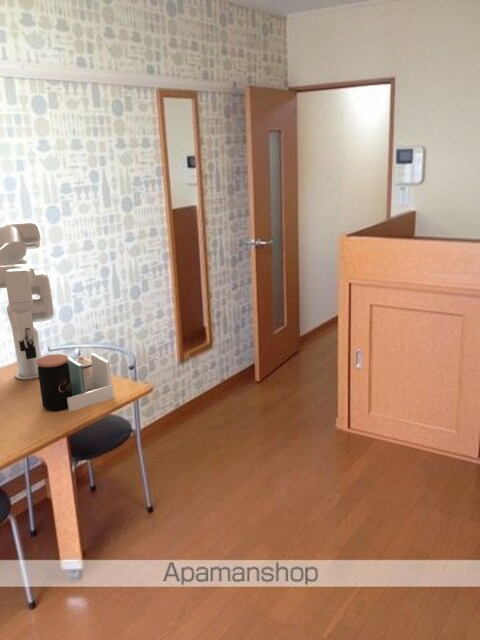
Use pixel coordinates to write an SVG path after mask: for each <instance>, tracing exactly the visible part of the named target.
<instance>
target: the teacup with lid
mask: <svg viewBox="0 0 480 640" xmlns="http://www.w3.org/2000/svg"><path fill="white" fill-rule="evenodd" d="M75 361H76V362H78V363H80V364H81V365H82V368H83V377H87V376H90V375H93V369H92V361H91V358H87V357H84V356H83V355H80V356H78V358H76V359H75Z"/></svg>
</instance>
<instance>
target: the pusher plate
mask: <svg viewBox="0 0 480 640" xmlns="http://www.w3.org/2000/svg"><path fill="white" fill-rule="evenodd" d="M67 357H68V361H67V362H68V364H69V371H70V379H71V387H72V395H73V396H75V395H78V394H82V393H85V392H86V390H85V385H84V377H83V368H82V365H81V364H80V363H78V362H76V361H75V360H76V359H75V360H74V359H73V358H72V357H70V356H67Z"/></svg>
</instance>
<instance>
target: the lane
mask: <svg viewBox="0 0 480 640" xmlns="http://www.w3.org/2000/svg"><path fill="white" fill-rule="evenodd" d="M90 359H91V361H92V369H93V375H90V376H87V377H84V385H85V393H82V394H78V395H75V396H72V397H68V398H67V403H68V412H69V413H71V412H73V411H77V410H80V409H84V408H86V407H90V406H92V405H95V404H99V403H103V402H106V401H109V400H112V399H115V392H114V385H113V384H112V375H111V366H110V360H109V361H108V360H107V359H105V358H103V357H102V356H99V355H98V354H97V353H94V352H92V353H90ZM91 389H92V390H91ZM88 390H89V391H88Z"/></svg>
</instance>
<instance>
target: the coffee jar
mask: <svg viewBox="0 0 480 640" xmlns="http://www.w3.org/2000/svg"><path fill="white" fill-rule="evenodd" d="M68 357H69V356H67V355H66V354H58V353H57V354H56V353H55V354H49V355H44V356H41V358H39V359H38V360H37V365H38V376H39V378H38V383H39V389H40V395H41V402H42V403H41V404H42V408H43V409H45V410H46V411H48V412H52V413H55V412H61V411H65V410H67V409H68V403H67V398H68V397H72V396H73V395H72V387H71V379H70V371H69V364H68V362H67V361H68Z"/></svg>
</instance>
